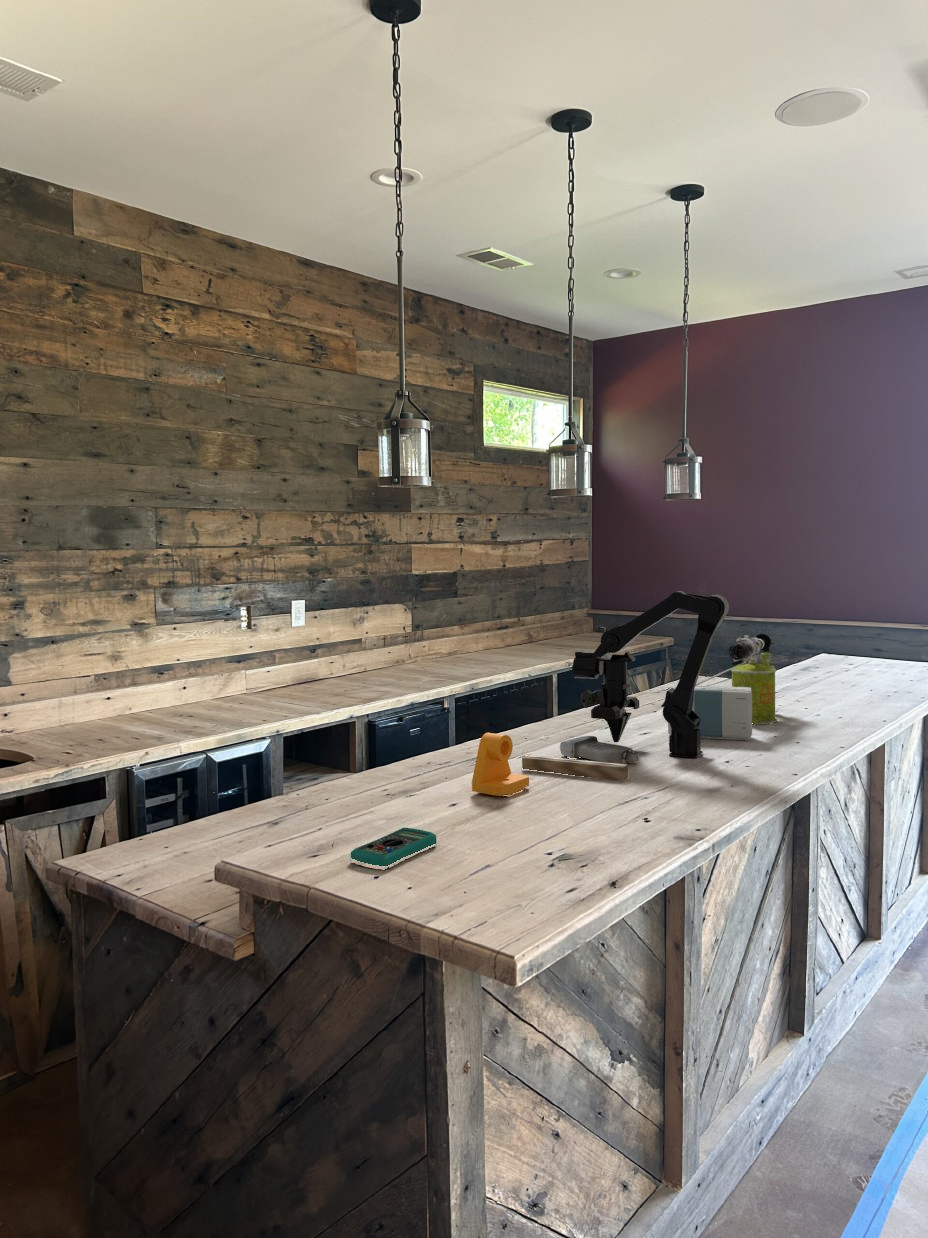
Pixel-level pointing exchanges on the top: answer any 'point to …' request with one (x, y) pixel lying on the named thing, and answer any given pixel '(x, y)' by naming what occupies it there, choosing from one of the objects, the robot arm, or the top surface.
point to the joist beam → (577, 767)
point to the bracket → (496, 767)
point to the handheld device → (597, 750)
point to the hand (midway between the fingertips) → (616, 742)
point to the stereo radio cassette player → (723, 711)
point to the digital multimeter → (394, 846)
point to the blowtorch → (755, 675)
